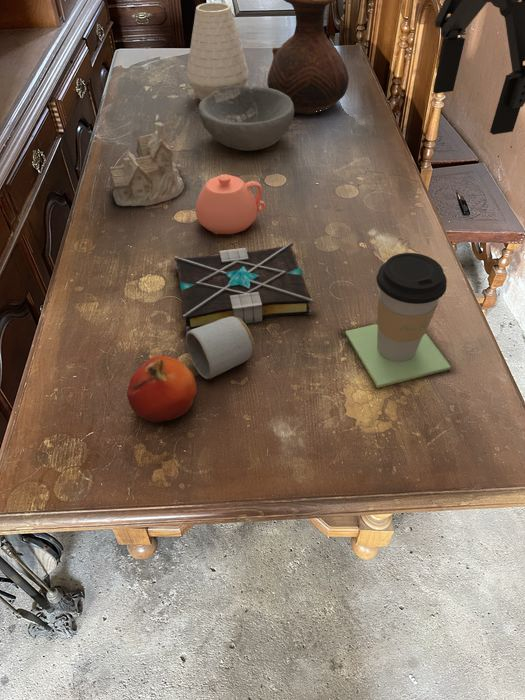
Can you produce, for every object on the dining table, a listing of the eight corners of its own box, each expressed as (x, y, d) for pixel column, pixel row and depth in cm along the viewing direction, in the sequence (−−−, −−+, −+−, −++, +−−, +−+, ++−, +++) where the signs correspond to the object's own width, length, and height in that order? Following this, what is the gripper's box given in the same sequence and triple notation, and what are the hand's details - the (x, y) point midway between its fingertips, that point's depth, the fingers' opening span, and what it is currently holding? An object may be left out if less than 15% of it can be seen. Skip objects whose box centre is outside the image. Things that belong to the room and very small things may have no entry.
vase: (192, 114, 148) (182, 18, 131) (186, 91, 159) (176, 0, 143) (255, 108, 150) (253, 13, 133) (244, 85, 162) (240, -4, 145)
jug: (339, 89, 159) (349, -34, 137) (351, 120, 144) (365, -13, 122) (265, 92, 158) (264, -32, 137) (269, 123, 143) (269, -10, 122)
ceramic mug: (258, 365, 82) (256, 328, 77) (212, 389, 79) (207, 352, 73) (221, 327, 88) (217, 290, 83) (177, 348, 85) (170, 311, 80)
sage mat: (450, 369, 81) (451, 366, 81) (377, 388, 79) (377, 385, 78) (412, 318, 89) (412, 315, 89) (344, 333, 87) (345, 331, 86)
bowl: (192, 162, 128) (188, 119, 121) (210, 122, 144) (207, 82, 137) (289, 166, 126) (290, 123, 119) (296, 125, 142) (297, 85, 135)
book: (291, 257, 101) (292, 234, 98) (314, 316, 90) (315, 293, 86) (175, 271, 99) (172, 248, 95) (183, 334, 87) (179, 311, 84)
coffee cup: (405, 380, 79) (426, 301, 68) (352, 349, 83) (364, 271, 73) (438, 345, 84) (462, 267, 73) (387, 318, 88) (402, 241, 78)
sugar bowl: (193, 211, 113) (188, 165, 106) (259, 203, 115) (258, 157, 108) (201, 244, 105) (196, 196, 97) (271, 235, 107) (271, 187, 99)
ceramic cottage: (178, 164, 127) (166, 100, 116) (187, 202, 116) (174, 136, 105) (112, 176, 126) (93, 112, 114) (115, 216, 115) (94, 150, 104)
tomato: (201, 382, 80) (196, 344, 74) (195, 433, 74) (188, 395, 68) (139, 381, 80) (129, 343, 75) (127, 432, 74) (115, 395, 68)
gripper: (430, -114, 62) (399, 80, 78) (578, -83, 46) (501, 157, 61) (486, -118, 64) (445, 74, 79) (650, -88, 47) (558, 147, 62)
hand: (470, 110), depth 70 cm, fingers open, 13 cm apart
